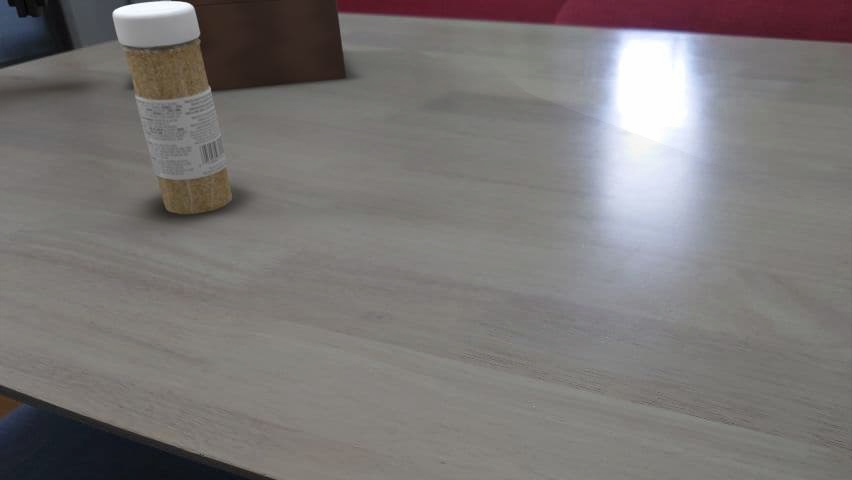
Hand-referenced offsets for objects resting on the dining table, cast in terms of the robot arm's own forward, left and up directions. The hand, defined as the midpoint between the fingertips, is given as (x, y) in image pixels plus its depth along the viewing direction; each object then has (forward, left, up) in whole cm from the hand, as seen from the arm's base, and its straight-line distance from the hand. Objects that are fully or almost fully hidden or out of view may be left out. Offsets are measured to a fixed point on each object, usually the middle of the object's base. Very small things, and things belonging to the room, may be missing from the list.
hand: (31, 14), depth 76 cm
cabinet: (+19, -6, -8) cm, 21 cm away
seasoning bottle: (+3, -38, -8) cm, 39 cm away
